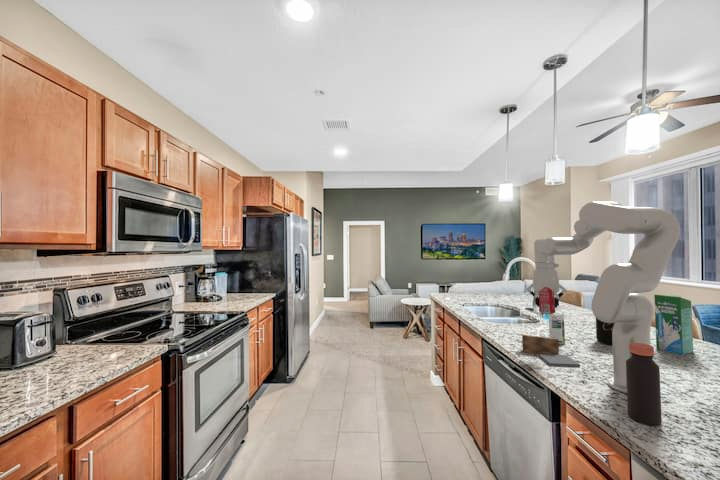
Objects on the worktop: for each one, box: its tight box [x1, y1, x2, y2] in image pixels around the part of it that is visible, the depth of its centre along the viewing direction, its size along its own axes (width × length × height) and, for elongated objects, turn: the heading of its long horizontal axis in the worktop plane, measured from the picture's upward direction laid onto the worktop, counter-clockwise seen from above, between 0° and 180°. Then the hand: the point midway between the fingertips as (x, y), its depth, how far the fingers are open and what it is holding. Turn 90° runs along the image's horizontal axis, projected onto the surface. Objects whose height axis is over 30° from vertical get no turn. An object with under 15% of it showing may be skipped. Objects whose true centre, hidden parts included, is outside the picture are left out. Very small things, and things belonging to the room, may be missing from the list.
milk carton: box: [653, 294, 694, 355], centre depth 141 cm, size 9×9×25 cm
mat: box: [537, 354, 581, 368], centre depth 128 cm, size 11×11×1 cm
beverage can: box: [538, 287, 556, 315], centre depth 138 cm, size 6×6×12 cm
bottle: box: [626, 343, 663, 427], centre depth 85 cm, size 7×7×20 cm
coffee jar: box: [595, 317, 615, 347], centre depth 152 cm, size 11×11×18 cm
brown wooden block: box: [521, 334, 560, 355], centre depth 139 cm, size 14×5×7 cm, turn 61°
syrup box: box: [548, 312, 566, 345], centre depth 154 cm, size 6×6×14 cm
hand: (546, 306), depth 138 cm, fingers closed on beverage can, 6 cm apart
